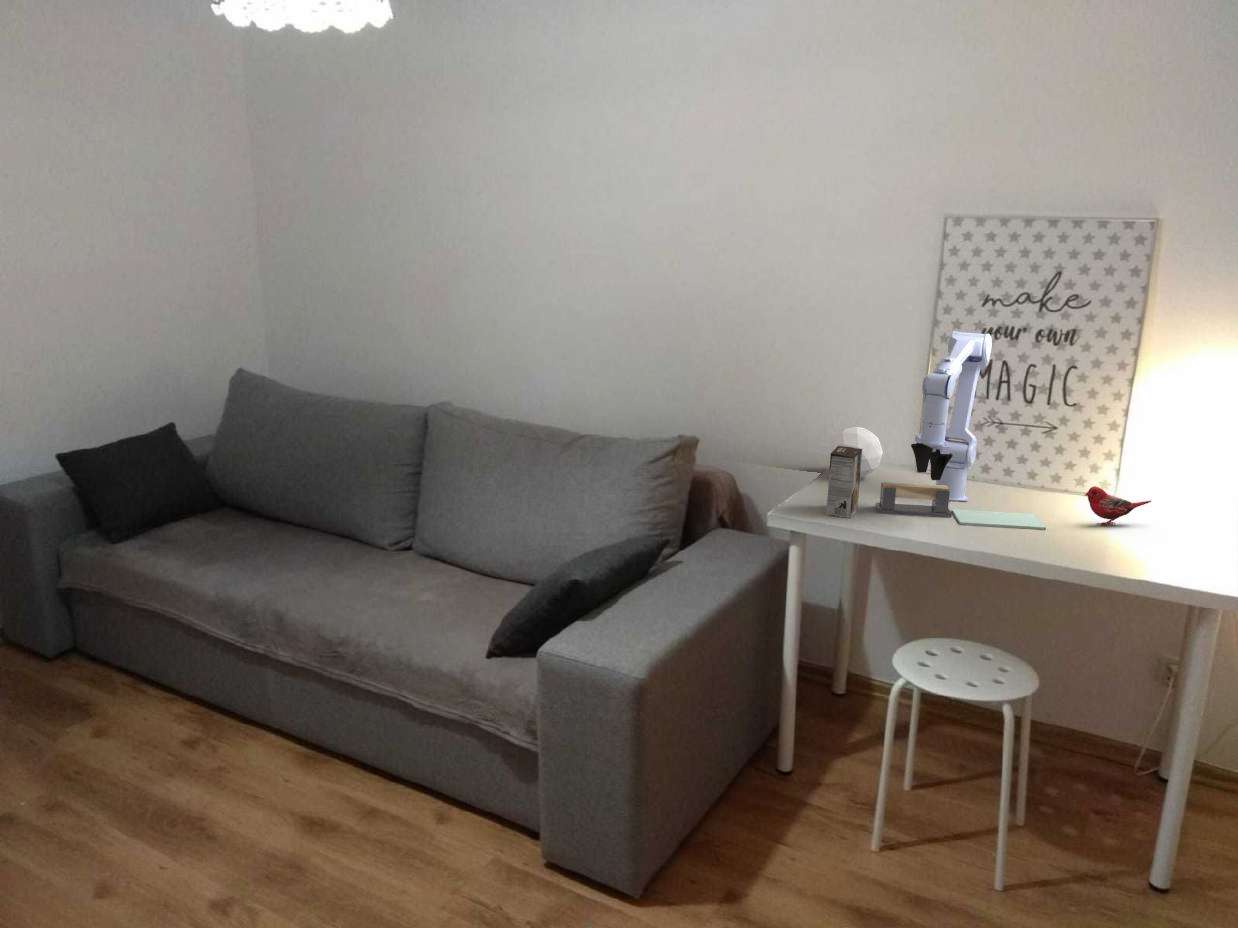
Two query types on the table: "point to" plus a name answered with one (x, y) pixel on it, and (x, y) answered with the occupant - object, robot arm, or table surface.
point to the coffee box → (844, 481)
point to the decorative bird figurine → (1109, 505)
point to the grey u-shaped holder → (889, 506)
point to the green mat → (998, 519)
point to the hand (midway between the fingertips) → (928, 476)
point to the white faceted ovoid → (860, 447)
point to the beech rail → (915, 490)
